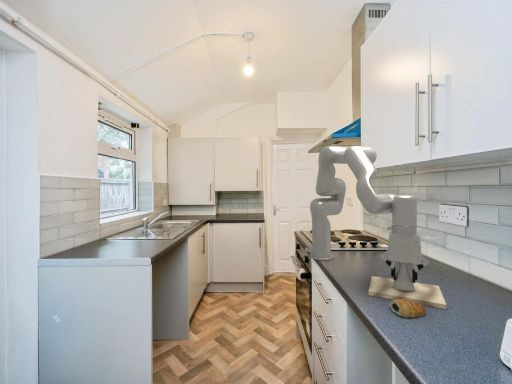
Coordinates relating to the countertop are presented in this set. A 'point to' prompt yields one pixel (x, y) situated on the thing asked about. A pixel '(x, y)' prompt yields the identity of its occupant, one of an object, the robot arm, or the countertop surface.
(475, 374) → the countertop surface
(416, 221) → the robot arm
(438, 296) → the birch board
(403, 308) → the pastry
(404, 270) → the flask
